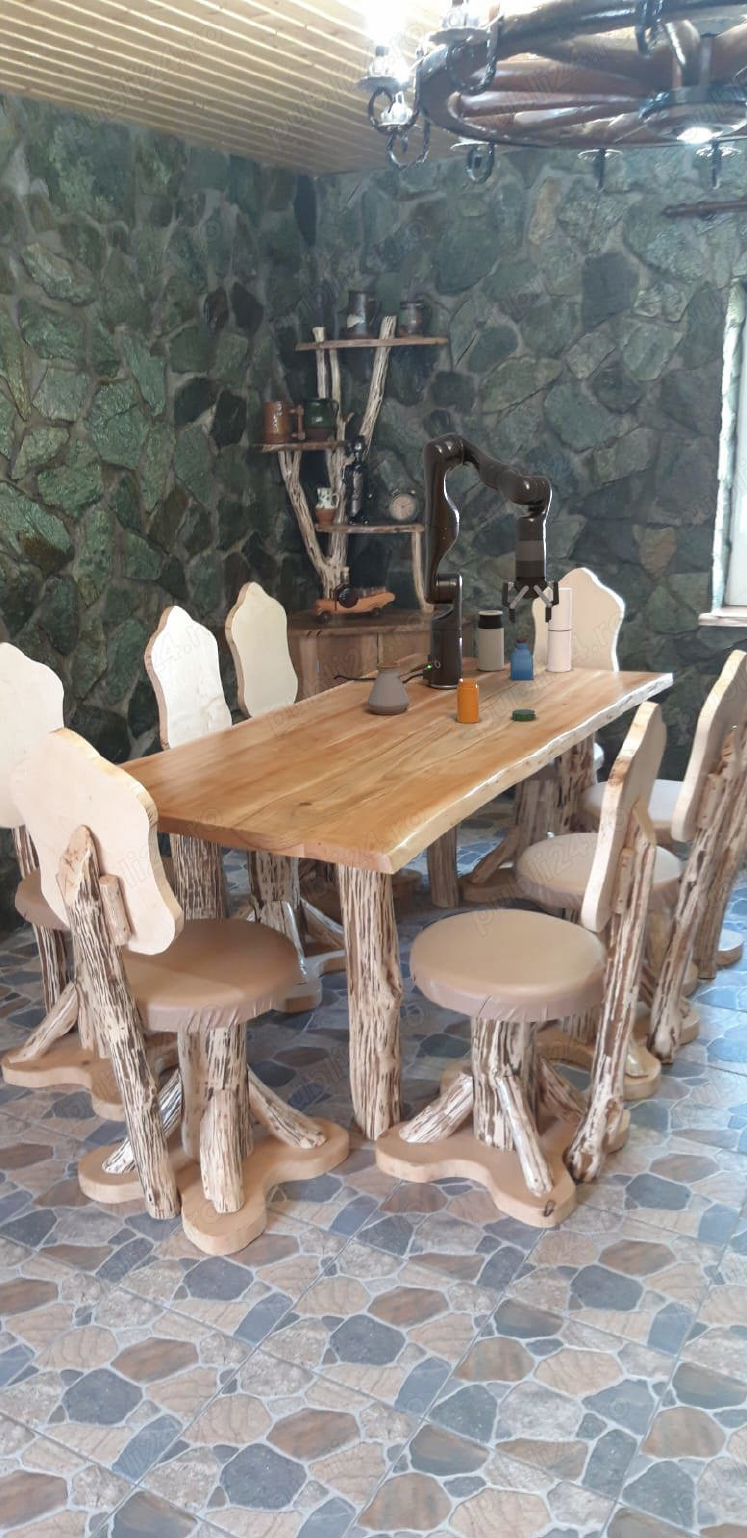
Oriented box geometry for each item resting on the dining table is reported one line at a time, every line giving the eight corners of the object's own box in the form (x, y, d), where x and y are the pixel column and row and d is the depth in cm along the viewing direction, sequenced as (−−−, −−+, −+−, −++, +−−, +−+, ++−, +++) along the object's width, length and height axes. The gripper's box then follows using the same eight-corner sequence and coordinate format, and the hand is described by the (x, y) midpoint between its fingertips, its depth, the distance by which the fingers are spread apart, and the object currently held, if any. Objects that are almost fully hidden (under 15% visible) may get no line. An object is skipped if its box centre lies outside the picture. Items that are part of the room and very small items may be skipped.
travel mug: (486, 672, 366) (485, 614, 361) (473, 668, 373) (473, 611, 368) (508, 669, 369) (508, 612, 364) (495, 666, 376) (495, 609, 371)
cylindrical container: (547, 671, 363) (547, 590, 357) (547, 667, 370) (548, 587, 364) (570, 671, 362) (571, 590, 356) (570, 667, 369) (571, 587, 362)
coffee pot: (359, 713, 313) (357, 658, 309) (382, 705, 322) (381, 651, 318) (428, 721, 302) (427, 663, 298) (450, 713, 311) (450, 656, 307)
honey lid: (538, 717, 303) (538, 710, 302) (529, 721, 298) (529, 714, 297) (518, 715, 306) (518, 708, 305) (508, 719, 301) (508, 712, 300)
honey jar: (453, 721, 301) (453, 681, 298) (463, 717, 305) (462, 677, 302) (473, 723, 298) (473, 682, 295) (482, 719, 302) (482, 678, 300)
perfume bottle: (533, 679, 352) (533, 639, 349) (512, 680, 352) (512, 640, 349) (530, 675, 358) (531, 636, 355) (510, 676, 358) (510, 637, 355)
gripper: (503, 560, 291) (503, 625, 296) (561, 558, 291) (560, 623, 295) (500, 557, 299) (500, 621, 303) (557, 555, 298) (556, 619, 302)
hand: (530, 622), depth 299 cm, fingers open, 8 cm apart
